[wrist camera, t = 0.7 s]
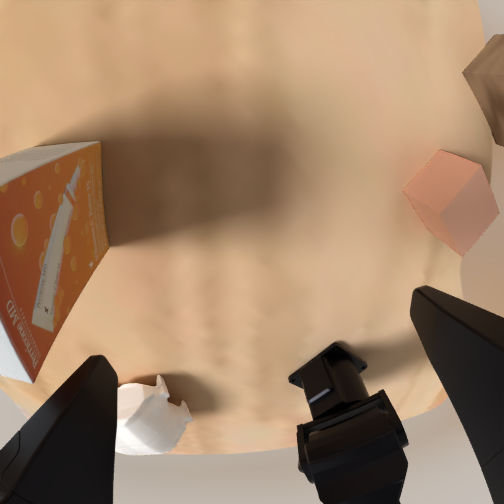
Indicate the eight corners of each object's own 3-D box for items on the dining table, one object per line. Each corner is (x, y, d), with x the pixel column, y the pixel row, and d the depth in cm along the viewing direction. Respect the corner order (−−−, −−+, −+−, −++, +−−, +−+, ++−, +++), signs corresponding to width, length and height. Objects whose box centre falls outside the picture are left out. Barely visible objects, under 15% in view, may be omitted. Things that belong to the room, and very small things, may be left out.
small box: (111, 248, 21) (36, 389, 9) (43, 245, 20) (-47, 360, 8) (104, 137, 17) (-36, 204, 5) (30, 145, 16) (-106, 212, 5)
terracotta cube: (461, 191, 21) (499, 212, 17) (427, 229, 23) (462, 257, 18) (439, 149, 19) (481, 165, 15) (401, 190, 21) (439, 214, 16)
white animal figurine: (147, 347, 29) (49, 400, 26) (164, 402, 22) (47, 456, 18) (184, 391, 33) (93, 436, 30) (207, 442, 26) (101, 488, 22)
